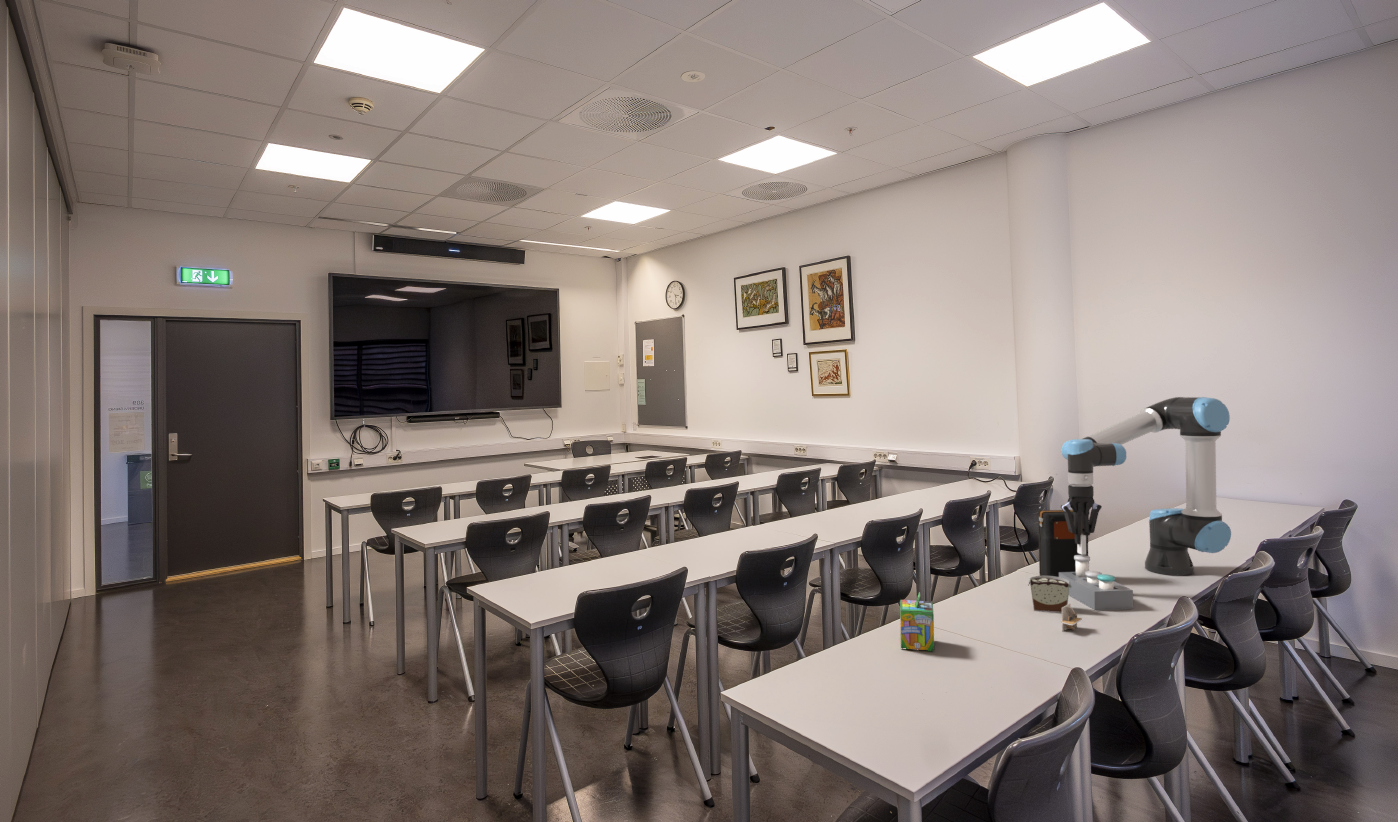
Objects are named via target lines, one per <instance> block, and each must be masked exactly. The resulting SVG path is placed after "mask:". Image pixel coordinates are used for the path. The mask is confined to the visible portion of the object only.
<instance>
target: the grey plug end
mask: <svg viewBox="0 0 1398 822" xmlns="http://www.w3.org/2000/svg"><path fill="white" fill-rule="evenodd" d="M1074 560H1075V562H1076V576H1077V577H1087V576H1086V572H1087V571H1090V561H1091V557H1090V556H1089V555H1088V556H1086V555H1075V556H1074Z"/></svg>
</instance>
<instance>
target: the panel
mask: <svg viewBox="0 0 1398 822" xmlns="http://www.w3.org/2000/svg"><path fill="white" fill-rule="evenodd" d="M1059 577H1060V578H1064V579H1066V580H1068V581H1069V582H1070V584H1071V587H1072V588H1070V587H1069V595H1070V596H1069V597H1072V598H1073V599H1075V601H1076V600H1077V601H1079V602H1080V603H1081V602H1082V604H1083V605H1085V606H1087V607H1089V608H1090V609H1092V610H1094V611H1109V610H1111V611H1113V610H1114V611H1115V610H1133V609H1134V590H1133V589H1131V588H1129V587H1128V586H1125V585H1124V584H1121V583H1120V582H1117V581H1116V580H1115V581H1113V586H1114V589H1109V590H1103V589H1101V588H1099V583H1089V582H1087V577H1077V576H1076V572H1059Z"/></svg>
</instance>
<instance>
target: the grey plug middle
mask: <svg viewBox="0 0 1398 822" xmlns="http://www.w3.org/2000/svg"><path fill="white" fill-rule="evenodd" d="M1099 574H1103V573H1102V572H1100V571H1095V570H1091V571H1090V570H1089V571H1087V572H1086V576H1087V582H1089V583H1099V580H1098V579H1097V575H1099Z"/></svg>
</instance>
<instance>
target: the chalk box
mask: <svg viewBox="0 0 1398 822" xmlns="http://www.w3.org/2000/svg"><path fill="white" fill-rule="evenodd" d="M899 610H900V611H899V612H900V613H899V615H900V617H899V619H900V620H899V622H900V624H899V625H900V628H899V629H900V630H899V631H900V632H899V633H900V634H899V635H900V649H901V648H906V649H916V650H915V651H919V650H928V651H927V652H931V651H934V652H935V637H934V636H935V633H934V632H935V628H934V627H935V626H934V622H935V621H934V620H935V619H934V603H933V601H926V600H921V592H920V591H919V592H918V595H917V598H916V600H915V599H914V600H913V599H912V600H910V599H900V600H899ZM906 649H905V650H906ZM917 649H918V650H917Z"/></svg>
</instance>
